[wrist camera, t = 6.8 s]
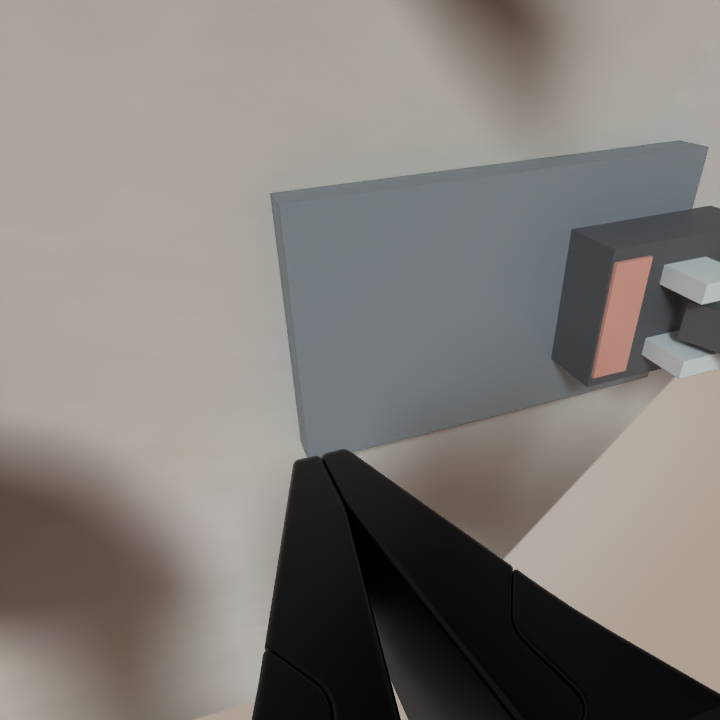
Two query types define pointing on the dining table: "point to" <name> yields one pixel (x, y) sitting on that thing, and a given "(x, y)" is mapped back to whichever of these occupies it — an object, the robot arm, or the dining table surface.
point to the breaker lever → (702, 325)
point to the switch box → (490, 288)
